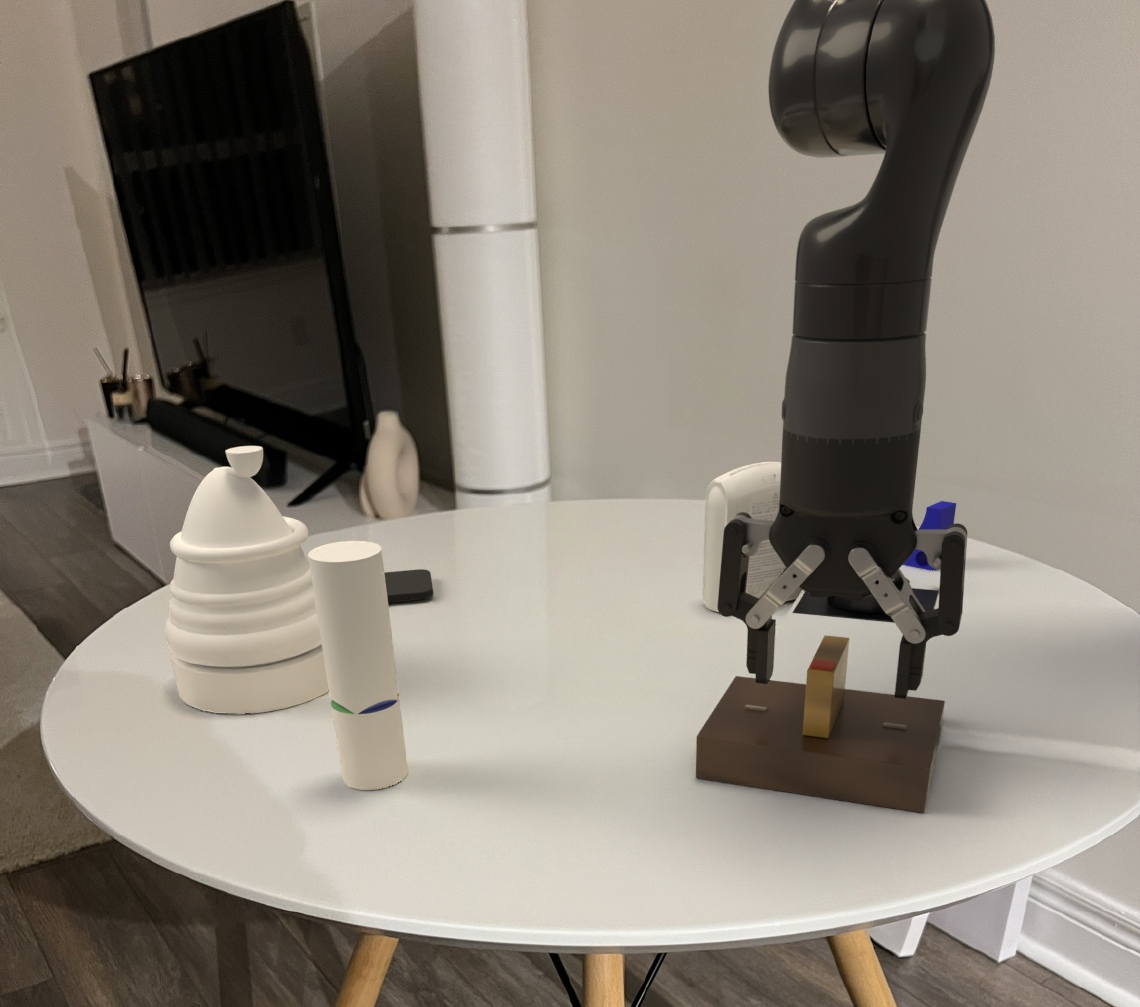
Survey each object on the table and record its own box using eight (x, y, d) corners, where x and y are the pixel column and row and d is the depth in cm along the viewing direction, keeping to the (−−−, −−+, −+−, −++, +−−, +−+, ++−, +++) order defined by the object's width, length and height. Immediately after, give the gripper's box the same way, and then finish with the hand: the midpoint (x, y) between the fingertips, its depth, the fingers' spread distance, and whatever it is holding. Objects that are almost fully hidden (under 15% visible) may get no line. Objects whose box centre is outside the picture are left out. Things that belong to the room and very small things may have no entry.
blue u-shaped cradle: (817, 553, 110) (821, 494, 107) (840, 543, 112) (845, 485, 110) (926, 575, 102) (934, 513, 99) (948, 564, 105) (956, 503, 102)
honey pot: (370, 655, 89) (341, 432, 81) (295, 721, 78) (252, 471, 70) (234, 645, 92) (192, 430, 84) (143, 706, 81) (85, 466, 73)
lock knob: (819, 697, 71) (824, 631, 69) (844, 700, 71) (849, 633, 69) (802, 735, 66) (807, 665, 64) (828, 738, 66) (834, 668, 64)
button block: (936, 608, 94) (941, 570, 92) (926, 644, 87) (931, 603, 85) (810, 597, 98) (813, 560, 96) (791, 631, 91) (793, 591, 89)
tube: (352, 758, 72) (321, 541, 65) (414, 759, 72) (389, 540, 65) (333, 789, 69) (298, 562, 62) (399, 790, 68) (370, 562, 61)
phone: (276, 582, 105) (429, 567, 107) (277, 590, 105) (430, 576, 107) (269, 606, 98) (433, 591, 100) (271, 615, 99) (434, 599, 100)
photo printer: (789, 585, 101) (797, 452, 95) (816, 598, 97) (827, 460, 92) (694, 604, 97) (697, 466, 92) (720, 618, 94) (724, 476, 88)
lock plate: (939, 741, 72) (945, 698, 70) (924, 813, 63) (930, 766, 62) (734, 714, 76) (735, 673, 75) (695, 778, 68) (696, 733, 67)
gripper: (990, 411, 60) (954, 676, 68) (741, 405, 65) (734, 653, 73) (983, 437, 54) (945, 725, 62) (709, 429, 59) (705, 697, 67)
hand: (831, 686), depth 67 cm, fingers open, 8 cm apart
